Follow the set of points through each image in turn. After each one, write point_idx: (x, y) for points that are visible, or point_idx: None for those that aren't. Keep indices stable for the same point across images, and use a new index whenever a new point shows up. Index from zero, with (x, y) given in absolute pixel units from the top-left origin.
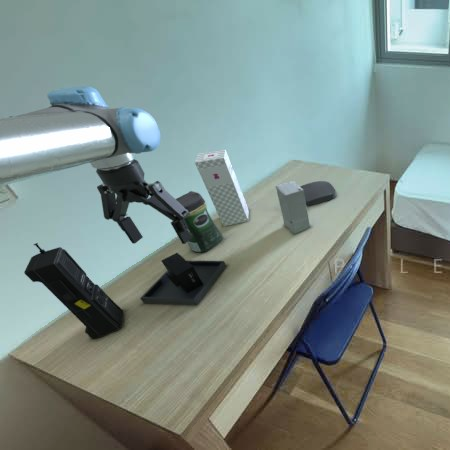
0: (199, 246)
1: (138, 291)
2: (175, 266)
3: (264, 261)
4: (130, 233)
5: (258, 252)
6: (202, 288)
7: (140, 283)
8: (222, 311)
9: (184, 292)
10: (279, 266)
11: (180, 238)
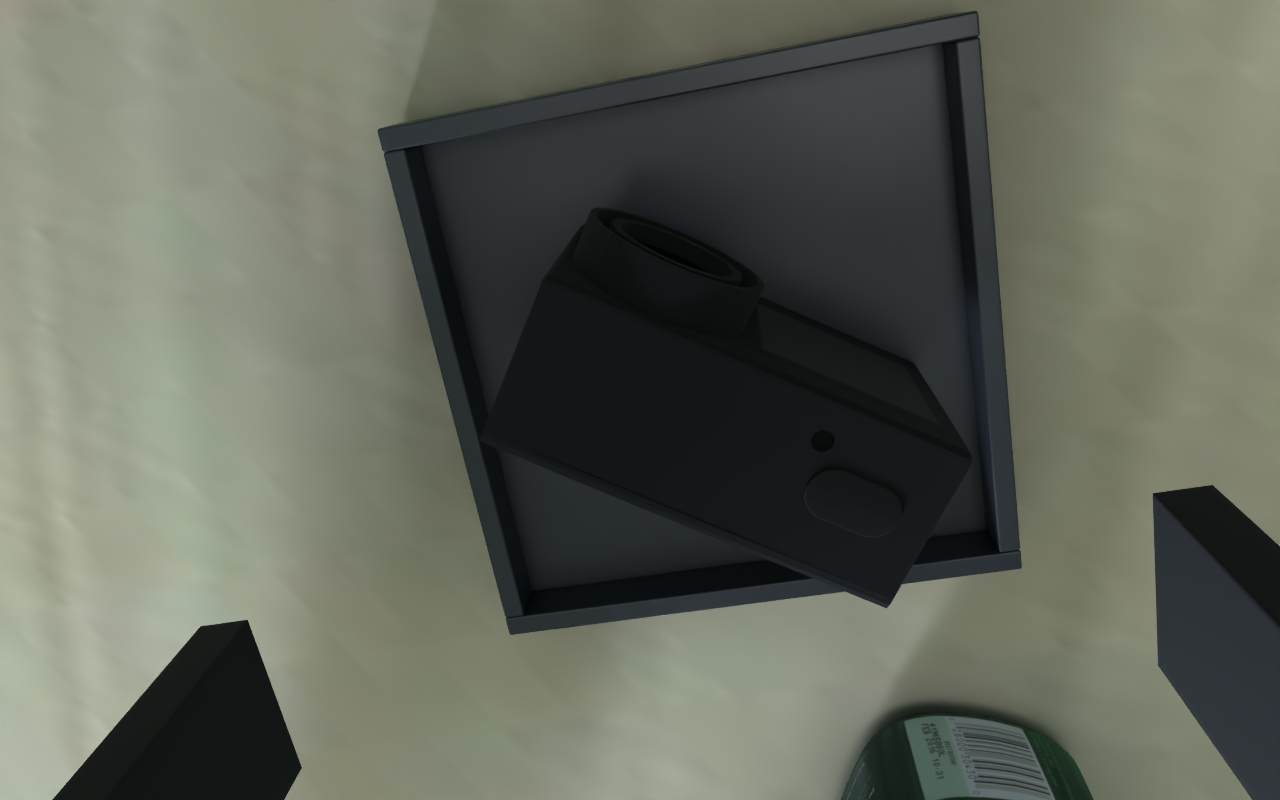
0: (907, 767)
1: (1166, 142)
2: (691, 400)
3: None
4: (1265, 645)
5: (370, 788)
6: (419, 280)
7: (1239, 242)
8: (110, 113)
9: None
10: (59, 669)
11: (173, 695)
